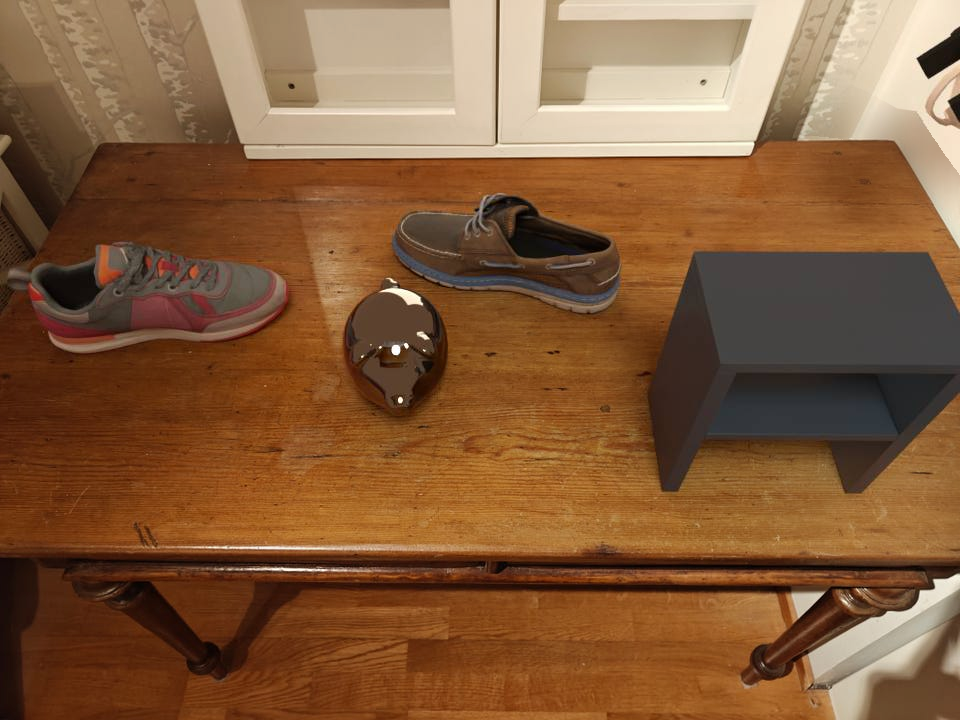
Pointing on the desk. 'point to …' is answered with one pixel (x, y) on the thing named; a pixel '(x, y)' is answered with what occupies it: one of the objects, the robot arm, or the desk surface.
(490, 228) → the boat shoe
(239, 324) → the sneaker
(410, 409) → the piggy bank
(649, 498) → the desk surface
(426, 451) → the desk surface
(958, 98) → the robot arm
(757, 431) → the shelf
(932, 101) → the cup
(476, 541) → the desk surface
